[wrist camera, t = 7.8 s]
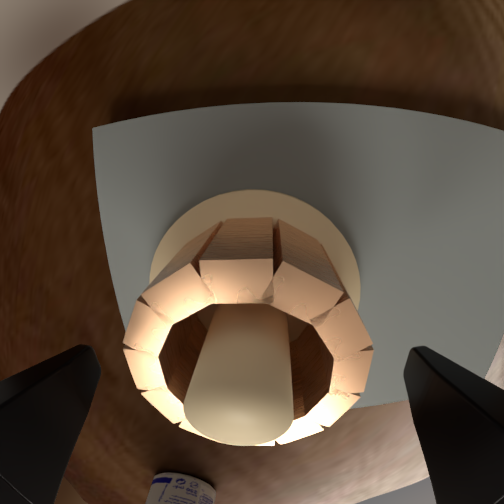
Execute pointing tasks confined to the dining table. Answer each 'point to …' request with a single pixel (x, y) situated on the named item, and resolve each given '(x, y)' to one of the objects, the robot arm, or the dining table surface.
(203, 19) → the dining table surface
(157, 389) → the wooden slatted ring
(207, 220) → the bobbin board
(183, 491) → the beverage can
